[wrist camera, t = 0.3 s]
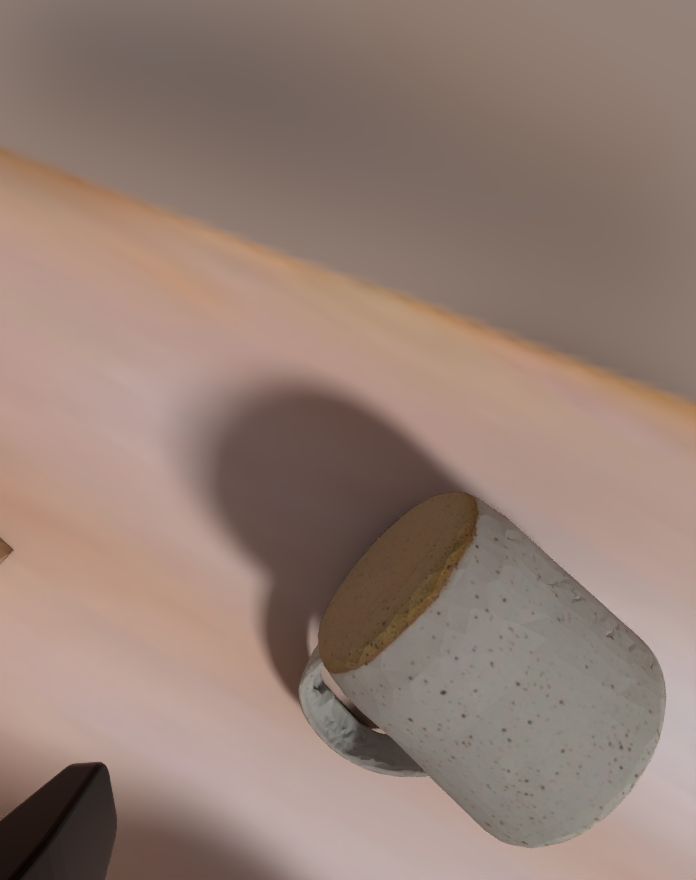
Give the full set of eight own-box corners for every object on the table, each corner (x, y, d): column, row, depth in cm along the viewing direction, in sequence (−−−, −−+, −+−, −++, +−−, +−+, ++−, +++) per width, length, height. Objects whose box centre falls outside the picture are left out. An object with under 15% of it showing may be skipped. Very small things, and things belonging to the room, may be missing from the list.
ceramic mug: (444, 451, 22) (493, 521, 15) (605, 597, 23) (728, 732, 16) (250, 655, 24) (202, 813, 16) (408, 783, 25) (433, 988, 17)
